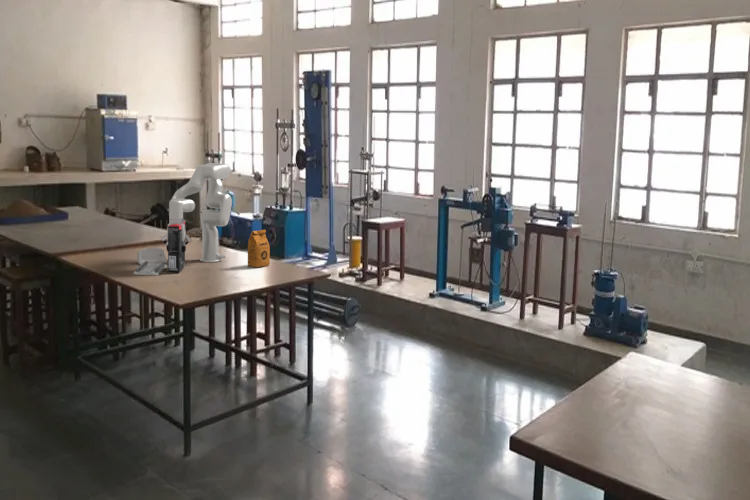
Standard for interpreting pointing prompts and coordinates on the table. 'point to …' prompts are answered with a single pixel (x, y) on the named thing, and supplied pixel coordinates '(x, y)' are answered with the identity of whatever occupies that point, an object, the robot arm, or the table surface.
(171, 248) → the graphics card box
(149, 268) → the rail mount
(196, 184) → the robot arm
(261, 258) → the coffee package
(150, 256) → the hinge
